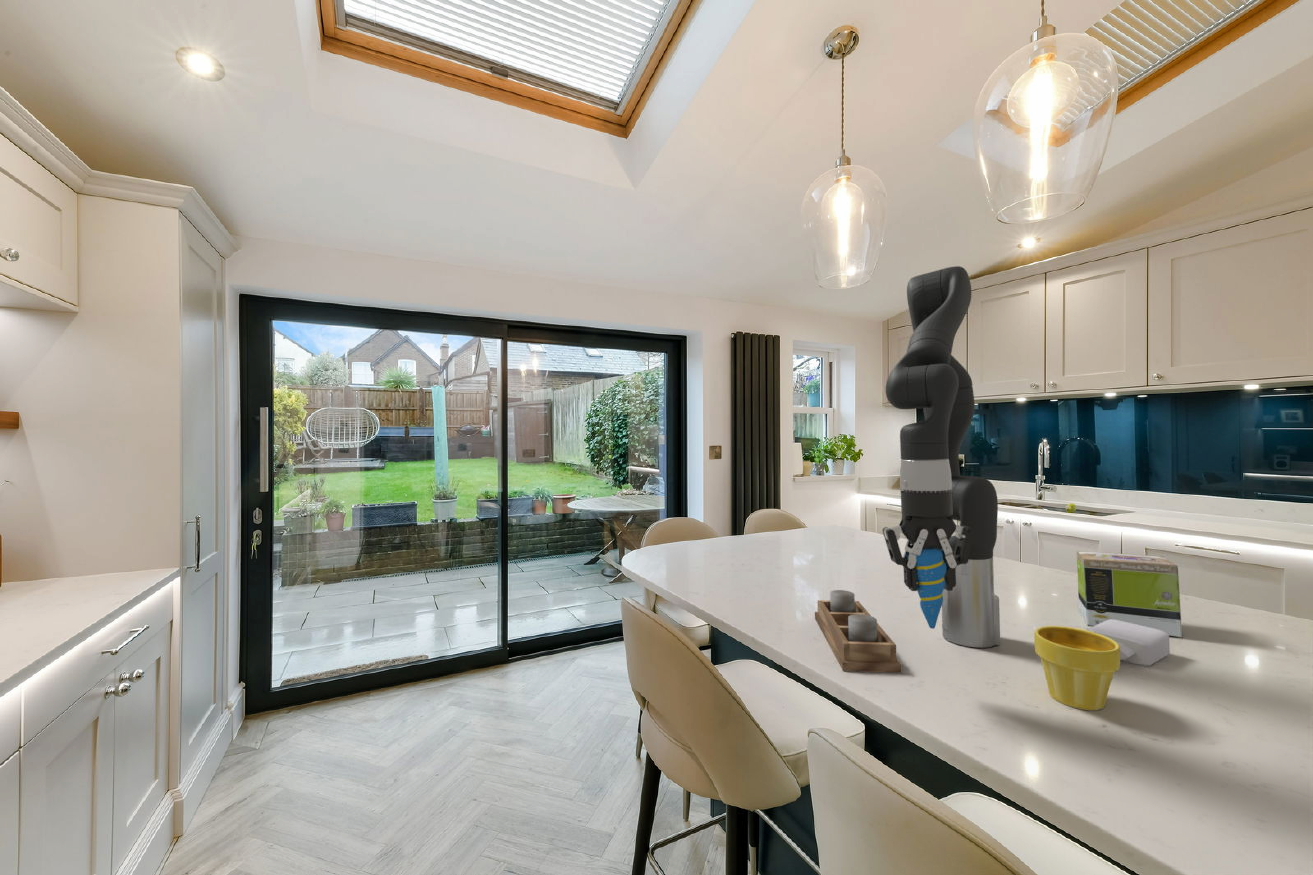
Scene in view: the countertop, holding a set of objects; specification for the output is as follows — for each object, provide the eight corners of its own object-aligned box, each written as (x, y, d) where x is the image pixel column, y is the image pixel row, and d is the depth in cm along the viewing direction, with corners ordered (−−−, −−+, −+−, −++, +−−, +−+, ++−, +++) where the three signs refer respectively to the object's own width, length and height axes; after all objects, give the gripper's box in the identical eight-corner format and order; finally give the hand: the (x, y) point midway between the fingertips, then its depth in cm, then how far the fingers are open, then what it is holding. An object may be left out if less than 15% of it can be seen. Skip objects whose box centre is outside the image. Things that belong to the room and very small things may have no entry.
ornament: (936, 636, 81) (931, 541, 81) (906, 626, 85) (902, 537, 85) (955, 629, 83) (951, 537, 83) (926, 620, 88) (922, 533, 88)
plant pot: (1130, 725, 72) (1128, 656, 72) (1039, 706, 78) (1037, 642, 78) (1113, 694, 81) (1111, 632, 81) (1032, 679, 87) (1031, 621, 87)
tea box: (1167, 623, 111) (1165, 555, 111) (1182, 639, 102) (1180, 565, 102) (1077, 612, 119) (1076, 548, 119) (1085, 626, 110) (1083, 557, 110)
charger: (1071, 658, 95) (1107, 641, 102) (1136, 677, 87) (1169, 657, 94) (1071, 632, 95) (1106, 617, 102) (1135, 649, 87) (1169, 631, 94)
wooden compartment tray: (859, 619, 117) (859, 586, 117) (901, 672, 90) (900, 630, 90) (814, 618, 118) (814, 585, 118) (842, 670, 91) (841, 628, 91)
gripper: (960, 483, 87) (964, 582, 87) (873, 485, 89) (877, 583, 89) (983, 487, 80) (988, 596, 80) (887, 490, 81) (892, 597, 81)
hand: (929, 589), depth 84 cm, fingers closed on ornament, 5 cm apart
